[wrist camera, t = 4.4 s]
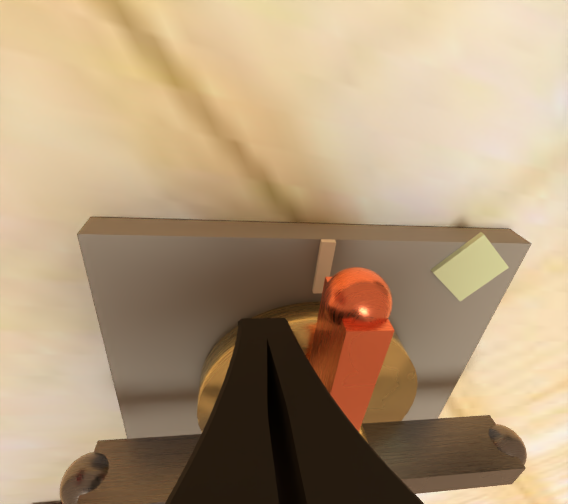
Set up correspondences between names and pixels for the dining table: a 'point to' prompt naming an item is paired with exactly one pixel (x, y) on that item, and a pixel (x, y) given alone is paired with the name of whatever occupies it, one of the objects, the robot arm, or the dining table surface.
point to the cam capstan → (347, 394)
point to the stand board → (278, 298)
